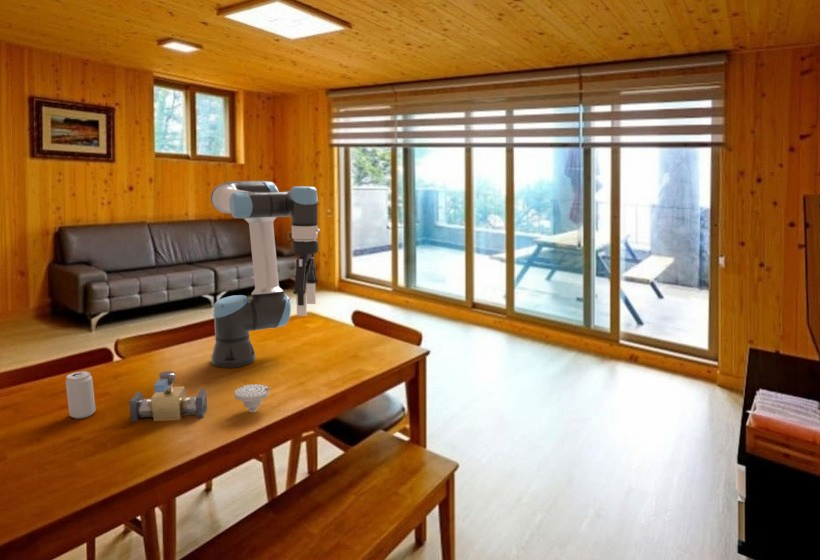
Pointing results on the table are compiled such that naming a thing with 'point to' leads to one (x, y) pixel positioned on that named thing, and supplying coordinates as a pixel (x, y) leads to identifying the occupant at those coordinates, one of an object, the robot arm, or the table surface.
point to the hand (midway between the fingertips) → (306, 309)
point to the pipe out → (140, 407)
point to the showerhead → (252, 395)
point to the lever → (164, 381)
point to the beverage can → (80, 395)
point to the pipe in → (194, 404)
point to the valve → (168, 403)
